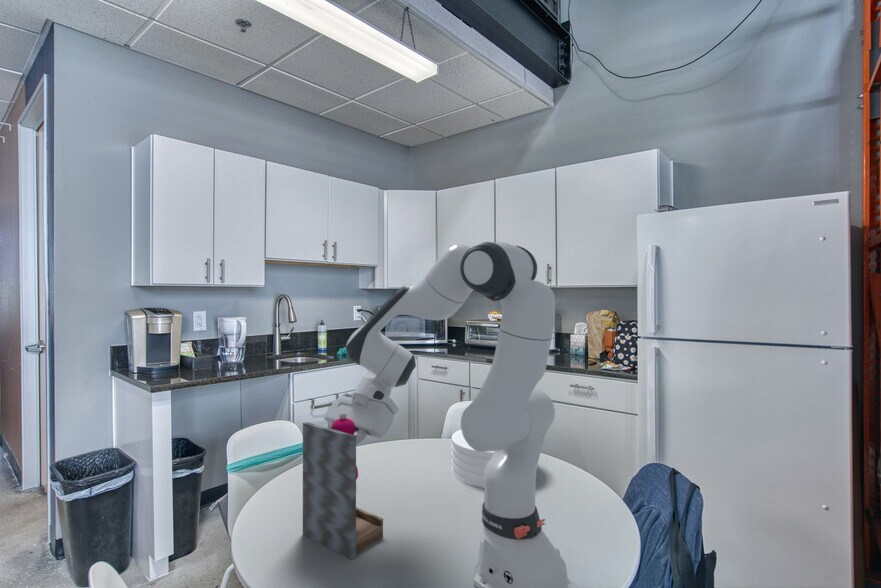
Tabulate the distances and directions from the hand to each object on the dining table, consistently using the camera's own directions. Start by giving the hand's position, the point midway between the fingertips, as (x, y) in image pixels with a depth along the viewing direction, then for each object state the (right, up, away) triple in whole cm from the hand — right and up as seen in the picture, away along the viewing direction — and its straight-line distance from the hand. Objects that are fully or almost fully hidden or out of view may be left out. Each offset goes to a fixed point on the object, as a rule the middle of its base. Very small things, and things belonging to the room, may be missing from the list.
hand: (341, 444), depth 111 cm
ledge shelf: (+1, -23, +1) cm, 23 cm away
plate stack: (+42, -23, +42) cm, 64 cm away
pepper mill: (0, -12, +1) cm, 12 cm away
